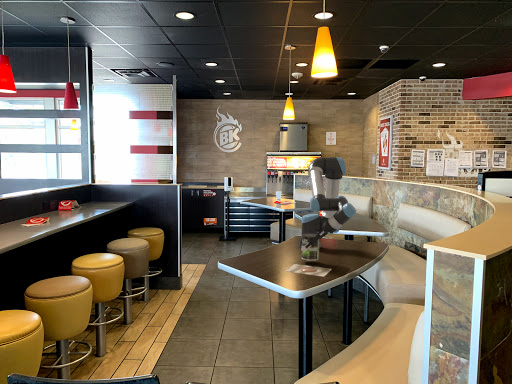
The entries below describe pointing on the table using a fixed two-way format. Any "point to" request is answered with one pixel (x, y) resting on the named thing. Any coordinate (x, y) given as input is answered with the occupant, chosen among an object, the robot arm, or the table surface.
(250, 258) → the table surface
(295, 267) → the birch board
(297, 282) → the table surface
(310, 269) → the terracotta coaster
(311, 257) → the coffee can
